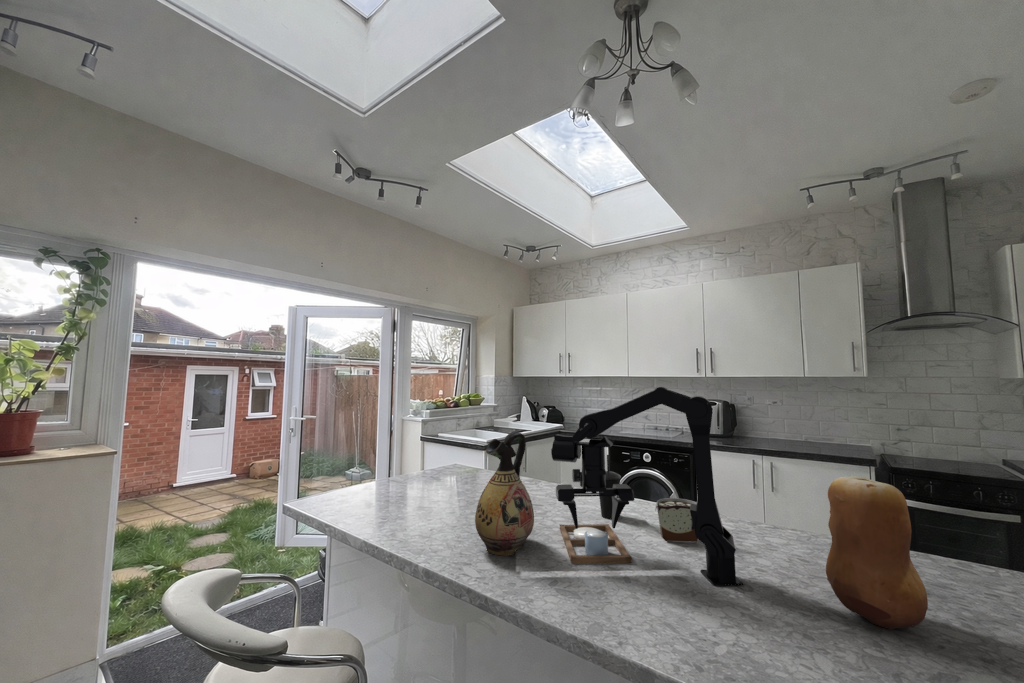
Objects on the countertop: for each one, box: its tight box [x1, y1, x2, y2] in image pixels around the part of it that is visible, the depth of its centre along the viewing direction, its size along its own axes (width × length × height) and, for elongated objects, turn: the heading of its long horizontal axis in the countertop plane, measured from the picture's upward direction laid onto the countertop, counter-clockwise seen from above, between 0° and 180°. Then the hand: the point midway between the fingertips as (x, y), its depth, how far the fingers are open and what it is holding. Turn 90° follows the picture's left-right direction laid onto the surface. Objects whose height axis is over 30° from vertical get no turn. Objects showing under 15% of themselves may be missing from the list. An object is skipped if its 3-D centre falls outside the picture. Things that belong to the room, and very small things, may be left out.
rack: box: [559, 523, 632, 565], centre depth 107 cm, size 22×14×2 cm, turn 0°
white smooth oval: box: [573, 527, 598, 539], centre depth 113 cm, size 8×8×1 cm
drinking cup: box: [598, 454, 622, 520], centre depth 130 cm, size 8×8×20 cm
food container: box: [654, 497, 699, 543], centre depth 115 cm, size 12×6×10 cm, turn 84°
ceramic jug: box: [474, 431, 535, 556], centre depth 109 cm, size 17×15×30 cm
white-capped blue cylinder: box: [584, 530, 609, 555], centre depth 102 cm, size 6×6×5 cm
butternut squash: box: [825, 475, 929, 630], centre depth 76 cm, size 14×13×25 cm
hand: (594, 528), depth 102 cm, fingers open, 9 cm apart
